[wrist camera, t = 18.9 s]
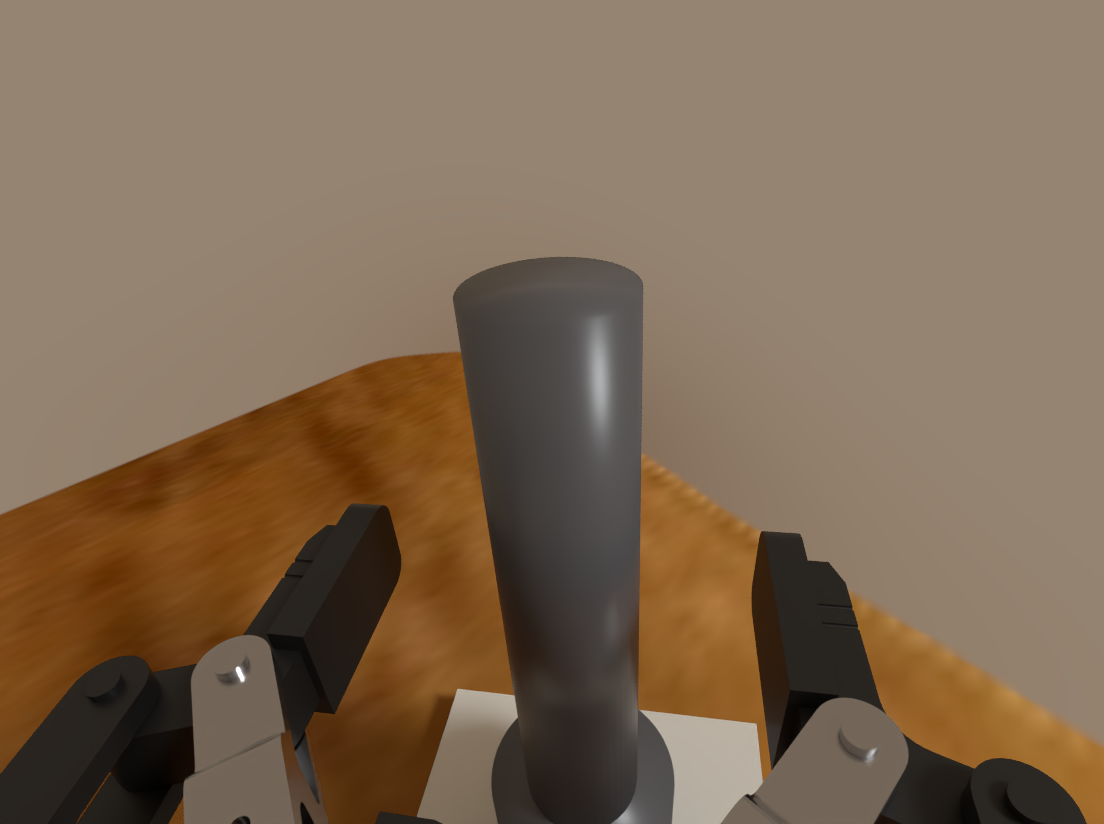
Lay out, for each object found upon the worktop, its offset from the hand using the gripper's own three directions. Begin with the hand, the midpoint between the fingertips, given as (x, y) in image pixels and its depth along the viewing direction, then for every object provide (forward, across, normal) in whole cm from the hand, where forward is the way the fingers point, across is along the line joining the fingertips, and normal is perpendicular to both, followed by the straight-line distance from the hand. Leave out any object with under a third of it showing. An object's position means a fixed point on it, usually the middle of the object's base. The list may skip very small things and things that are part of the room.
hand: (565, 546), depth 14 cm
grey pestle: (-1, 0, +12) cm, 12 cm away
